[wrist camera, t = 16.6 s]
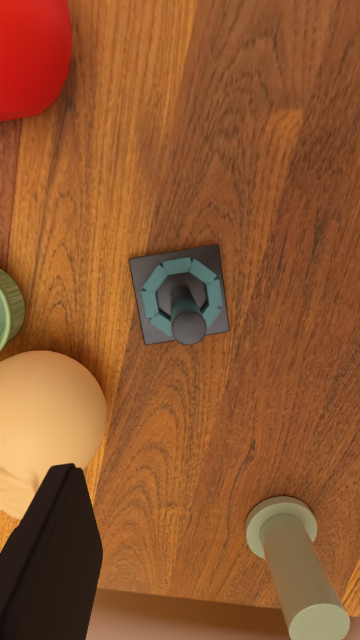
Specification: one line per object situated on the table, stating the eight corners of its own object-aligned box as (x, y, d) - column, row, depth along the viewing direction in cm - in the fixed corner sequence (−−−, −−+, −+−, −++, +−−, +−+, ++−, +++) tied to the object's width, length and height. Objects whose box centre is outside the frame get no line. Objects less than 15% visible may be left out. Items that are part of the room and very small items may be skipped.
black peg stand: (217, 244, 29) (251, 245, 17) (227, 328, 31) (265, 381, 19) (129, 258, 29) (104, 269, 17) (145, 342, 31) (132, 403, 19)
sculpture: (-35, 394, 31) (-136, 470, 21) (53, 315, 30) (-8, 354, 19) (51, 469, 34) (-1, 572, 23) (137, 399, 32) (122, 475, 22)
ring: (214, 252, 28) (216, 253, 27) (223, 326, 30) (226, 330, 29) (137, 265, 28) (136, 266, 27) (151, 338, 30) (150, 342, 28)
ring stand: (311, 490, 36) (366, 583, 26) (315, 547, 38) (367, 654, 28) (240, 502, 36) (268, 599, 26) (247, 558, 37) (276, 669, 28)
